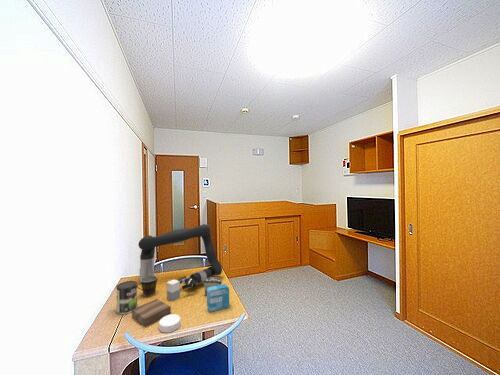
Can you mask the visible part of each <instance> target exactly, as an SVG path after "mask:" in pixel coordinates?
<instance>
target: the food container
mask: <svg viewBox="0 0 500 375" xmlns="http://www.w3.org/2000/svg"><path fill="white" fill-rule="evenodd" d="M222 280H223V279H222V278H220V277H218V276H217V277H216V276H211V277H210V278H206V279H205V280H204V281H203V282H202V284H203V288H204V296H205V297H207V288H209V287H212V286H217V285H222V284H223V281H222Z"/></svg>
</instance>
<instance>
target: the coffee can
mask: <svg viewBox="0 0 500 375" xmlns="http://www.w3.org/2000/svg"><path fill="white" fill-rule="evenodd" d="M137 284H138V282H137V280H128V281H123V282H120V283H119V284H117V285H116V287H115V288H116V313H117V314H119V315H127V314H129V313H132V309H135V308H137V307H138V288H137Z"/></svg>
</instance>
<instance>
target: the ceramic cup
mask: <svg viewBox="0 0 500 375" xmlns="http://www.w3.org/2000/svg"><path fill="white" fill-rule="evenodd" d="M157 283H158V276H157V275H154V276H147V277H144V278H142V279H141V282H138V283H137V290H138V289H139V290H141V291H142V294H143V297H145V298H146V297H152V296H153V295H155V293H156V290H157V289H156V288H157ZM140 285H141V288H139V287H138V286H140Z"/></svg>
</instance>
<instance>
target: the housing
mask: <svg viewBox="0 0 500 375" xmlns="http://www.w3.org/2000/svg"><path fill="white" fill-rule="evenodd" d="M180 287H181V284H180V281H178V280H177V279H172V280H169V281H167V282H166V299H168V300H170V301H171V302H173V301H175V300H177V299H179V298H181V292H180V291H181V288H180Z"/></svg>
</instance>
